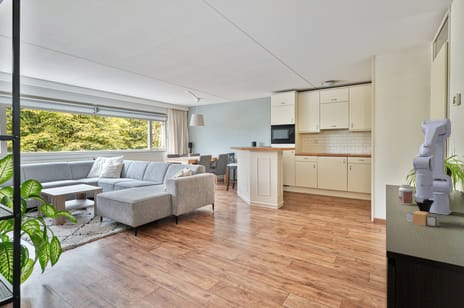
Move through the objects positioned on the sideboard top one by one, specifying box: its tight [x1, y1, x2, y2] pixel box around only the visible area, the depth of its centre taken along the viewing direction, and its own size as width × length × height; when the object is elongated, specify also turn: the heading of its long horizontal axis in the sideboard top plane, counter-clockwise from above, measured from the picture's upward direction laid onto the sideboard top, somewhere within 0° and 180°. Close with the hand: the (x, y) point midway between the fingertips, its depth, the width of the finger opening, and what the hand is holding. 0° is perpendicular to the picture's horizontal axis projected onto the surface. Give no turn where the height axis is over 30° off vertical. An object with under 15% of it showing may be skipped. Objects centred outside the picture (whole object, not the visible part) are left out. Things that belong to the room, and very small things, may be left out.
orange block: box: [412, 210, 430, 227], centre depth 98 cm, size 6×4×4 cm
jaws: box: [404, 211, 440, 227], centre depth 99 cm, size 4×11×3 cm, turn 38°
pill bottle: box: [398, 183, 413, 206], centre depth 133 cm, size 6×6×11 cm
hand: (424, 216), depth 102 cm, fingers closed
